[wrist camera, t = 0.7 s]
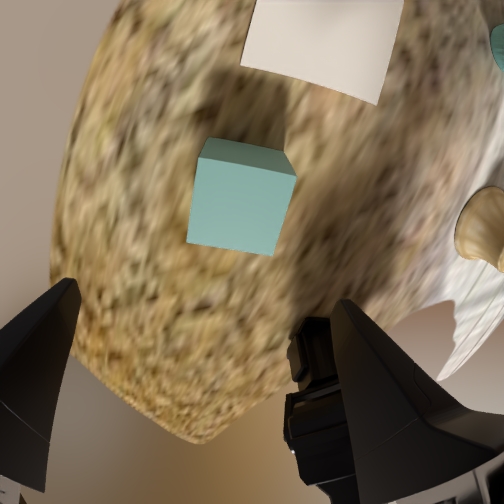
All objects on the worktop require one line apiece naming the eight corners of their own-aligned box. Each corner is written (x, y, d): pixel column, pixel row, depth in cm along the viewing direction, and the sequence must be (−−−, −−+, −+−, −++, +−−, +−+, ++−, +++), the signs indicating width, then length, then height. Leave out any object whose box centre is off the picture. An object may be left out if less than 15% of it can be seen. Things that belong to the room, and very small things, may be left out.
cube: (283, 151, 19) (297, 176, 14) (265, 216, 21) (272, 256, 17) (208, 136, 18) (198, 157, 14) (196, 204, 21) (186, 242, 16)
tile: (400, -3, 12) (405, -4, 11) (372, 104, 17) (376, 105, 16) (272, -50, 10) (273, -53, 10) (240, 65, 15) (240, 65, 15)
